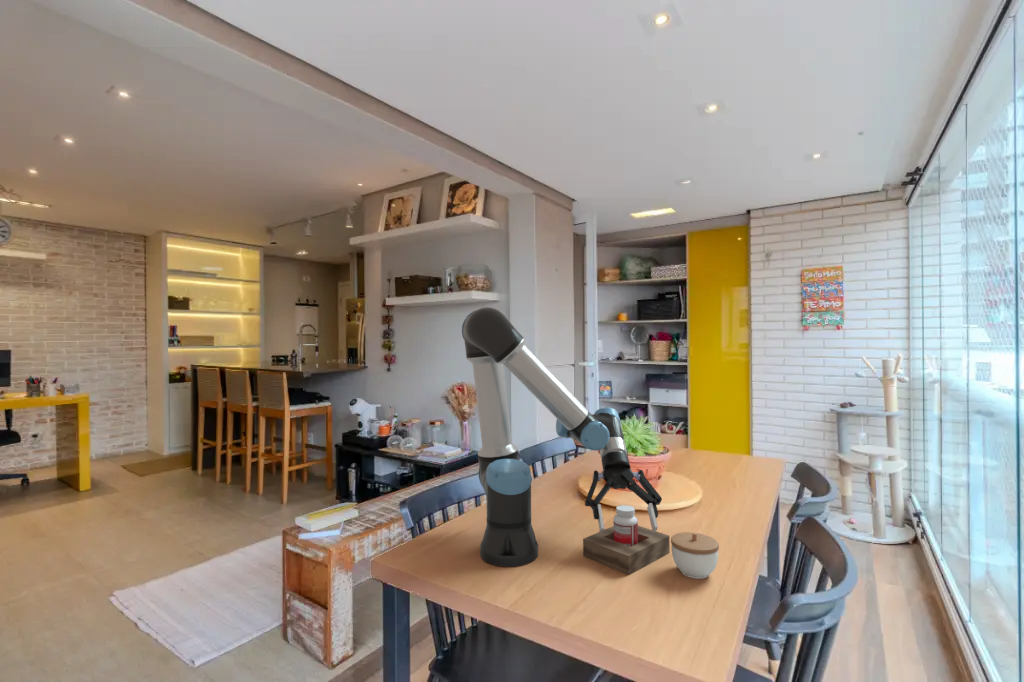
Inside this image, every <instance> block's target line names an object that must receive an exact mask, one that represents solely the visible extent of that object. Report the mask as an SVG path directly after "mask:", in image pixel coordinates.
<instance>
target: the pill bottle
mask: <svg viewBox="0 0 1024 682" xmlns="http://www.w3.org/2000/svg"><path fill="white" fill-rule="evenodd" d="M615 513H616V514H615V515H614V517H613V521H612V522H613V526H614V541H616V542H619V543H622V544H624V545H627V546H630V547H631V546H633V545H635V544H637V543H638V526H639V521H638V517H636V516H635V514H636V510H635V507H634V506H632V505H627V504H624V505H623V504H622V505H617V506H616V512H615Z"/></svg>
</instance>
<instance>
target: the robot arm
mask: <svg viewBox="0 0 1024 682" xmlns="http://www.w3.org/2000/svg"><path fill="white" fill-rule="evenodd" d="M461 334H462V339H463V340H464V346H465V355H466V357H465V358H466V359H467V361H469V362H470V363H471V365H472V370H473V379H474V386H475V396H476V404H477V412H478V421H479V429H480V437H481V438H480V439H481V448H480V449H479V450H478V451H477V459H478V473H477V474H478V480H479V482H480V485H481V487H482V488H483V491H484V494H485V497H486V526H485V529H484V534H483V538H482V540H481V543H480V546H479V551H480V552H479V553H480V554H479V555H480V558H481V560H483V561H484V562H485V563H488V564H491V565H494V566H497V567H519V566H524V565H527V564H530V563H532V562H534V561H535V560H536V559H538V556H539V543H538V541H537V539H536V538H537V537H536V534H535V531H534V528H533V525H532V481H533V480H532V479H533V478H532V472H531V468H530V466H529V464H527V463H526V462H524V461H521V460H520V455H519V447H518V446H516V445H515V444H513V441H512V439H513V438H512V432H511V425H510V424H511V421H510V415H509V414H510V413H509V407H508V397H507V389H506V387H507V386H506V379H505V370H504V366H505V367H506V369H508V371H510V372H511V373H512V375H514V376H515V377H516V378H517V379H518V380H519V382H521V383H522V385H523V386H524V387H525V388H526V389H528V391H529V392H530V393H531V394H532V395H533V396H534V397H535V398H536V399H538V401H539V402H540V403H541V404H542V405H543V406H544V407H545V408H546V409H547V410H548V411H549V412H550V413H551V414H552V415H553V416H554V417H555V419H556V421H555V422H556V423H555V432H556V435H558V437H561V438H565V439H573V440H574V441H576V442H577V443H579V444H581V445H582V446H583V447H584V448H585V449H587V450H591V451H595V452H596V451H599V453H600V459H601V466H602V472H599V471H598V470H594V471H593V474H592V482H591V485H590V487H589V489H588V492H587V495H586V498H585V500H584V501H585V502H584V506H585V507H590V509H591V510H592V514H593V519H594V520H597V522H598V523H597V524H598V528H599V529H598V530H599V532H600V533H603V532H604V530H605V523H604V517H603V511H602V504H600V502H601V501H602V500H603V498H604V497H605V496H606V495H607V493H608V492H609V491H610V489H611V488H612V489H614V490H618V489H622V490H626V489H628V490H629V491H631V492H633V493H634V494H635V495H636V496H637V497H638V498H640V499H641V500H642V502H644V503H645V504H646V505H647V507H646V509H647V514H648V516H649V522H650V526H651V530H652V531H653V532H656V531H657V530H658V528H659V526H658V521H657V518H658V517H659V511H658V507H657V505H658V506H660V504H661V502H662V500H663V497H661V495H660V494H659V492H658V491H657V490H656V489H655V487H653V485H652V484H651V482H650V481H649V480H648V479H647V477H646V475H645V473H644V471H643V470H642V469H639V470H638V471H634V472H633V471H632V468H631V464H630V463H631V462H630V459H629V456H628V450H627V446H626V442H625V438H624V433H623V432H624V431H623V428H622V422H621V419H620V415H619V413H618V411H617V410H616V409H615V408H613V407H609V406H608V407H607V406H606V407H603V408H602V407H601V408H599V409H596V411H594V414H592V412H590V411H589V410H588V409H587V408H586V407H585V405H584V404H582V403H581V402H580V400H578V399H577V397H576V396H575V395H574V394H573V393H571V390H569V389H568V388H567V387H566V386H565V385H564V384H563V383H562V382H561V380H560V379H559V378H557V377H556V376H555V375H554V373H553V372H552V371H551V370H550V369H549V368H548V367H547V366H546V365H545V364H544V363H543V362H542V361H541V360H540V359H539V358H538V356H536V355H535V353H534V352H533V351H532V350H531V349H530V348H529V347H528V346H527V345H526V344H525V337H524V336H523V335H522V334H521V333H520V332H519V331H518V329H516V327H515V326H514V325H513V324H512V322H511V321H510V320H509V319H508V317H507V316H506V315H504V313H502V312H501V311H500V310H498V309H497V308H495V307H494V308H493V307H485V306H484V307H481V308H478V309H475V310H473V311H472V312H470V313H469V314H467V316H466V317H465V319H464V320H463V322H462V325H461ZM633 478H634V479H636V481H637V482H639V484H640V485H641V486H640V485H638V483H637V482H636V481H635V480H634V479H633ZM601 479H603V480H604V481H605V484H604V485H603V487H602V488H601V489H600V491H599V492H598V493H597V495H596V496H595V498H594V499H593V495H594V493H595V492H596V491H595V490H596V488H597V485H598V482H600V481H601Z"/></svg>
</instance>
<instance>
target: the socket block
mask: <svg viewBox="0 0 1024 682" xmlns="http://www.w3.org/2000/svg"><path fill="white" fill-rule="evenodd" d="M670 543H671V538H670V535H669V534H666V533H663V532H660V531H657V530H656V532H653V531H652V529H650V528H646V527H644V526H642V525H641V526H640V525H638V543H637V544H635V545H633V546H631V547H630V546H627V545H624V544H622V543H619V542H616V541H614V525H612V526H610V527H609V528H606V529H604V532H603V533H600V531H599V532H596V533H593V534H592V535H589V536H586V537H584V538H582V547H583V548H582V554H583V555H582V556H583V557H584V558H586V559H590V560H591V561H594V562H596V563H599V564H601V565H604V566H606V567H609V568H611V569H613V570H616V571H619V572H621V573H623V574H625V575H628V576H630V575H632V574H634V573H636V572H637V571H639V570H640V569H643V568H644V567H646V566H648V565H650V564H652V563H653V562H656V561H657V560H660V559H661V558H663V557H665V556H666V555H668V554H670V550H671V549H670V546H671V544H670Z"/></svg>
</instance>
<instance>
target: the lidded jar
mask: <svg viewBox="0 0 1024 682" xmlns="http://www.w3.org/2000/svg"><path fill="white" fill-rule="evenodd" d="M670 543H671V544H670V545H671V555H672V559H673V562H674V564H675V566H676V567H677V569H678V570H680V571H681V574H682V575H684V576H685V577H687V578H690V579H694V580H695V579H696V580H703V579H707V578H708V577H709V575H711V574H712V572H714V571H715V569H716V566H717V564H718V559H719V548H720V543H719V542H718V540H716V538H714V537H712V536H709V535H707V534H703V533H699V532H691V531H690V532H689V531H688V532H687V531H686V532H679V533H674V534H673V535H672V536H671V537H670Z"/></svg>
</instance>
